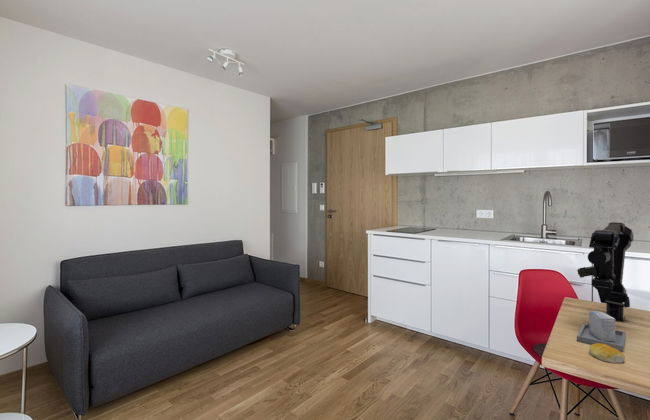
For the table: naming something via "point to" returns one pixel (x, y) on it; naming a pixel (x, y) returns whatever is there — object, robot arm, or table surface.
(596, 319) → the medicine box
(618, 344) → the tray
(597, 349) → the bread roll
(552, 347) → the table surface
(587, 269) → the robot arm
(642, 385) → the table surface
